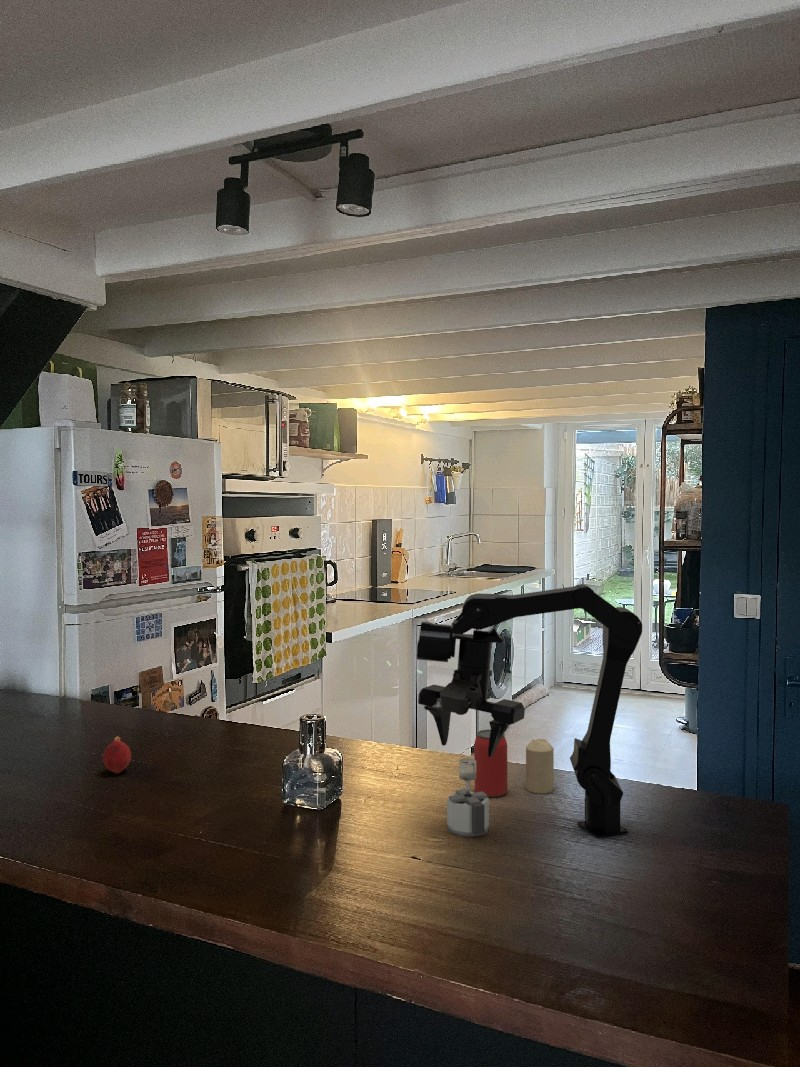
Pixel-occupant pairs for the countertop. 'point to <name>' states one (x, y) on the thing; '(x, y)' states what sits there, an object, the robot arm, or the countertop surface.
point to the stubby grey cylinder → (467, 774)
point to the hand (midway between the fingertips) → (466, 750)
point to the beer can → (490, 766)
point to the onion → (117, 756)
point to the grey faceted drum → (468, 814)
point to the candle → (539, 766)
